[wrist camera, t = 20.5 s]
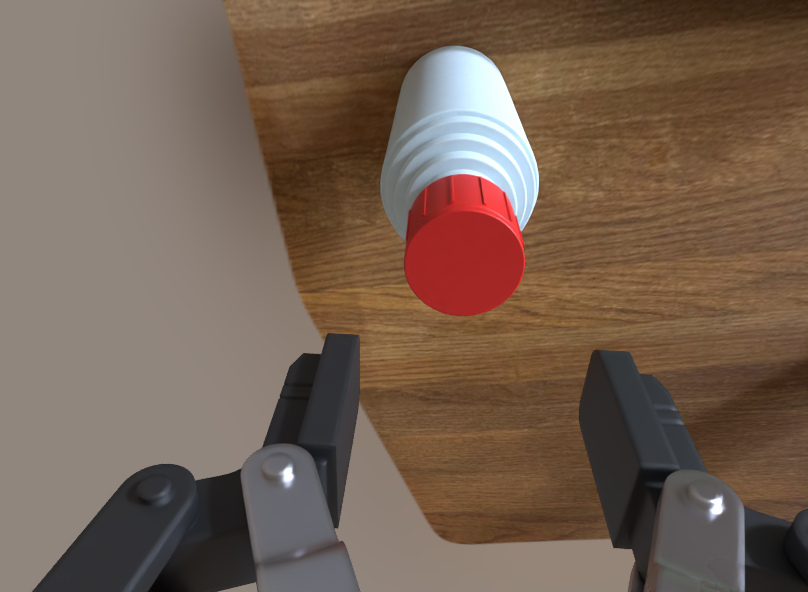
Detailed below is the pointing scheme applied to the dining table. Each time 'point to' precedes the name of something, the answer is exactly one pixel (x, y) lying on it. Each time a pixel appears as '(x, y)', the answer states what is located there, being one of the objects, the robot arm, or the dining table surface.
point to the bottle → (456, 134)
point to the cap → (463, 246)
